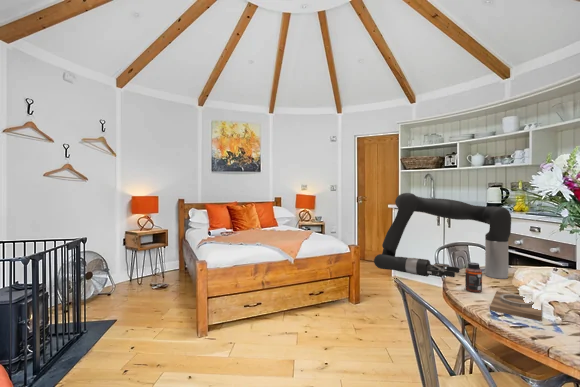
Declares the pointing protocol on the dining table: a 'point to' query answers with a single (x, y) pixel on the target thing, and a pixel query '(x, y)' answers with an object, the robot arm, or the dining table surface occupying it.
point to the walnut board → (514, 306)
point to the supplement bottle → (473, 278)
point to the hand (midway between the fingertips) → (457, 272)
